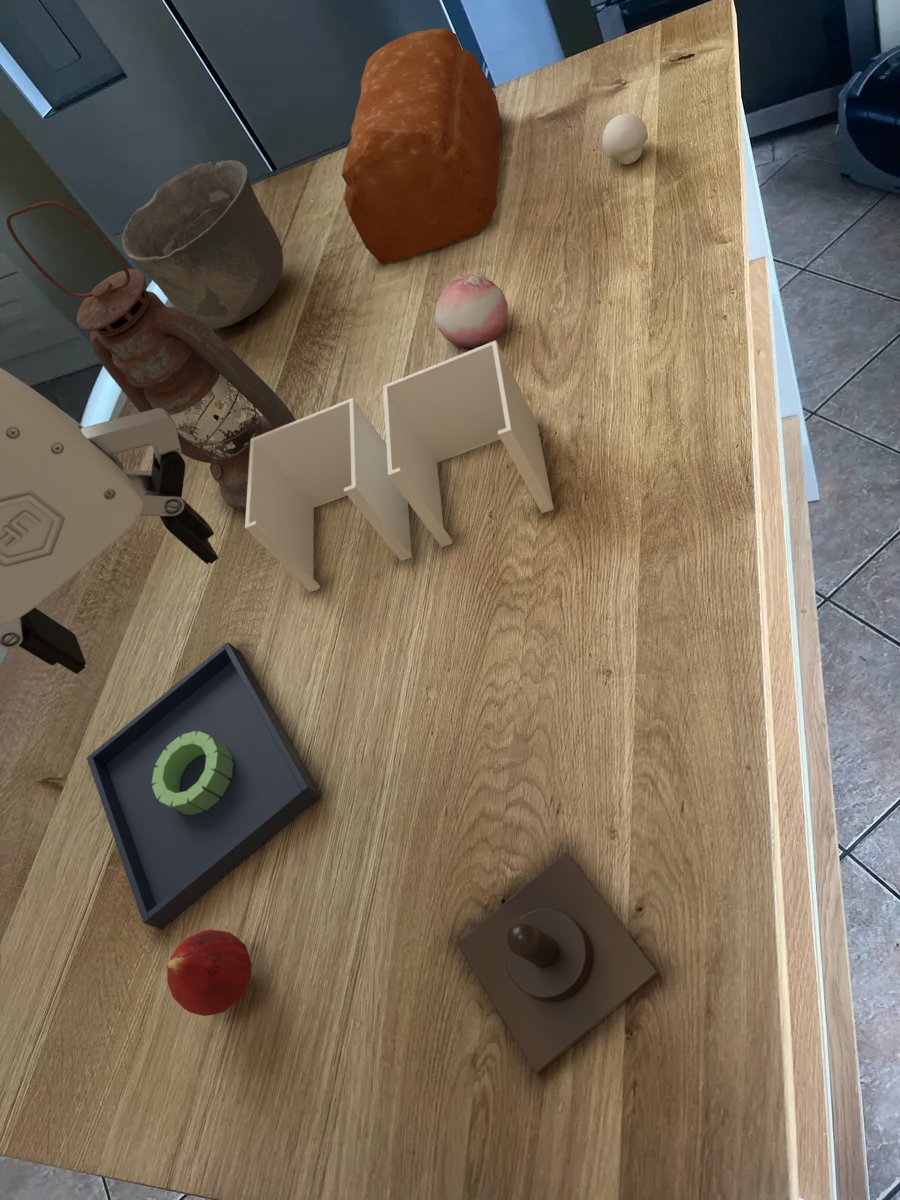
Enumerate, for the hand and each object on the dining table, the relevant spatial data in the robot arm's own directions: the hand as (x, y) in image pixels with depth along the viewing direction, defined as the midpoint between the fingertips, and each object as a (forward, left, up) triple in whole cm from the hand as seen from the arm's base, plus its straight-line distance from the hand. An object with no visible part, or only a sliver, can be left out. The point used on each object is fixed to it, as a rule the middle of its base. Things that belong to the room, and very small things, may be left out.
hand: (142, 601), depth 52 cm
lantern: (+8, +40, -28) cm, 50 cm away
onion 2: (+35, +34, -28) cm, 57 cm away
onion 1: (-17, -7, -28) cm, 34 cm away
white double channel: (+18, +20, -28) cm, 39 cm away
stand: (+4, -21, -28) cm, 35 cm away
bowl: (+20, +70, -28) cm, 78 cm away
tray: (-13, +11, -28) cm, 33 cm away
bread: (+47, +62, -28) cm, 83 cm away
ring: (-13, +11, -28) cm, 33 cm away
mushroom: (+62, +42, -28) cm, 80 cm away
